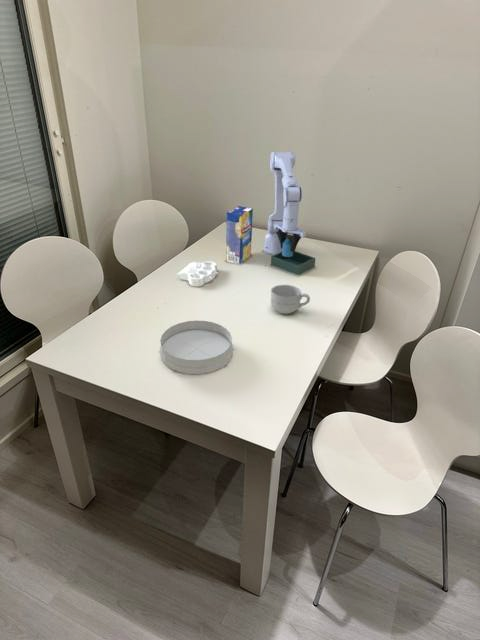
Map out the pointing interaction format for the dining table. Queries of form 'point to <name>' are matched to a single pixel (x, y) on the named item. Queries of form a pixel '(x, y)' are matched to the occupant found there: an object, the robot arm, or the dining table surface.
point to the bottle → (287, 247)
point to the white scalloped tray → (199, 273)
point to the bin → (293, 262)
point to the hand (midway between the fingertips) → (287, 249)
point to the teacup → (287, 298)
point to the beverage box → (239, 234)
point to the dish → (196, 347)
